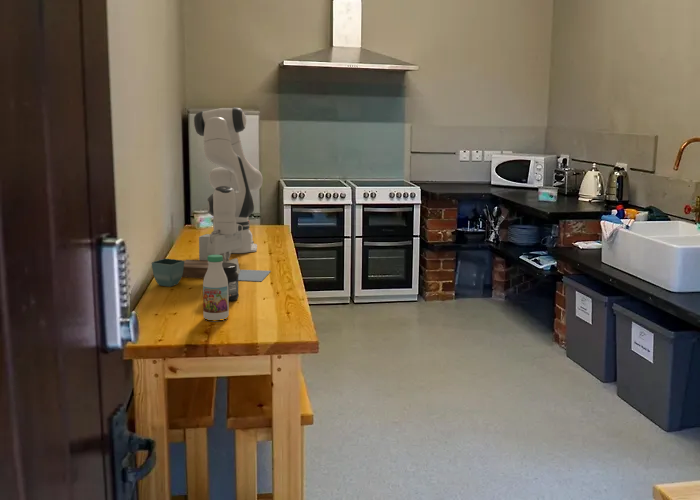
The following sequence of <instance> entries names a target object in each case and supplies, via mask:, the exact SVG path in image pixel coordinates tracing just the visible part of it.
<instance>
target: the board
mask: <svg viewBox="0 0 700 500" xmlns="http://www.w3.org/2000/svg"><path fill="white" fill-rule="evenodd" d="M208 265H209V264H208V260H199V259H186V260H185V259H184V269H183V275H182V277H181V278H189V279H190V278H192V279H194V278H195V279H204V277H205V274H206V272H207V269H208Z"/></svg>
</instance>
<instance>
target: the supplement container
mask: <svg viewBox="0 0 700 500" xmlns="http://www.w3.org/2000/svg"><path fill="white" fill-rule="evenodd" d="M222 267H223V270H224V272H225V274H226V276H227V280H228V299H229V301H231V302H234V301H237V299H238V298H239V281H238V277H239V275H238V273H237V272H236V271H237V265H236V264H234V263H227V262H223V263H222Z"/></svg>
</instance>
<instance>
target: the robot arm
mask: <svg viewBox="0 0 700 500" xmlns="http://www.w3.org/2000/svg"><path fill="white" fill-rule="evenodd" d="M246 124H247V117H246V115H245V112H244V110H243V109H242V108H241V107H221V108H220V107H219V108H216V109H210V110H205V111H203V110H201V111H199V112H196V114H195V115H194V117H193V127H194V129H195V132H196V134H197V135H198V136H202V137H203V149H204V156H205V157H206V159H207V160H208V161H209V162H211V164H213V165H215V166H216V167H214V168H212V169H211V171H210V173H209V175H208V182H209V184H210V186H211V188H213V189H214V191H213V193H212V194H210V196H208V198H207V213H209V214H210V215H211V216H212V217H213V220H212V221H213V222H212V223H213V230H212V231H211V233H210V234H211V235H210V237H209V239H208V254H209V255H219V254H220V255H222V256H223V262H227V261H229V260H230V258H231V254H247V253H253V252H254V253H255V252H257V249H258V244H257V243H254V240H253V233H252V231H251V230H250V227H251V226H250V220H249V217H250V216H251V215H252V214H253V213H254V210H255V203H254V202H255V201H254V199H253V196H252V192H256V191H259V190H260V189H261V188H262V186H263V182H264V177H263V175H262V172H261V171H260V170H259V169H257V167H255V166H254V165H252V164H251V163H250V162H249V160H248V159H247V158H246V155H245V153H244V150H243V146H242V142H241V136H240V133H241V132H243V131H244V130H245V129H246V126H247V125H246Z"/></svg>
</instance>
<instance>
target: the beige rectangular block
mask: <svg viewBox="0 0 700 500" xmlns="http://www.w3.org/2000/svg"><path fill="white" fill-rule="evenodd" d="M227 263H234V264H236V265H237V271H236V272H237V273H238V274H239V273H240V270H241V269H240V265H239V259H238V258H232V259H229V261H227Z"/></svg>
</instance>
